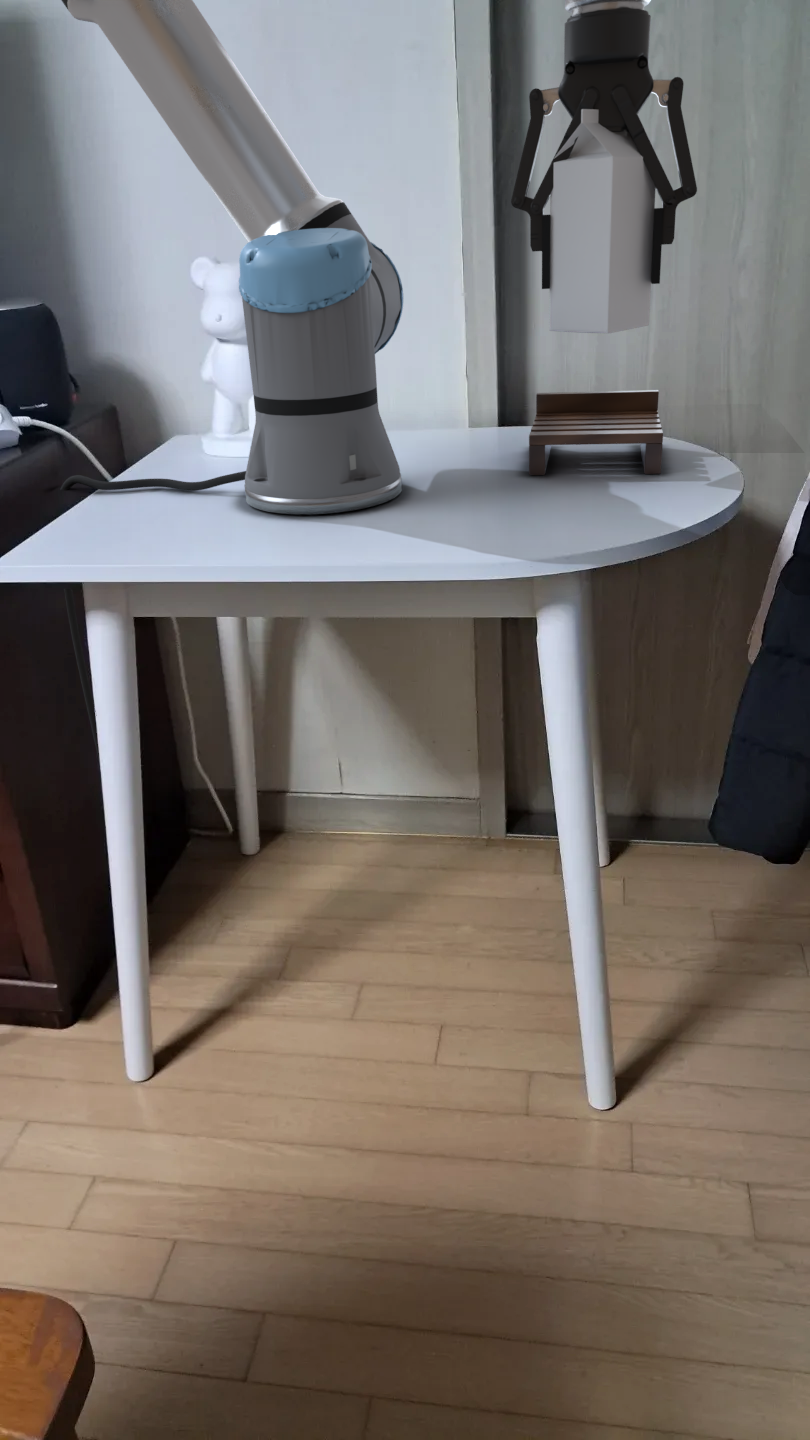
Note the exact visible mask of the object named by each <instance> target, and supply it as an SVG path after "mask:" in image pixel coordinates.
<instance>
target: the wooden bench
mask: <svg viewBox="0 0 810 1440" xmlns="http://www.w3.org/2000/svg"><path fill="white" fill-rule="evenodd" d="M659 394H660V390H659V389H644V390H643V389H641V390H639V389H637V390H604V391H601V390H600V391H565V392H564V391H563V392H536V395H535V397H536V399H535V400H536V401H535V417H534V419H533V422H532V426H531V429H530V432H529V435H528V476H545V475H546V472H547V467H548V463H549V458H550V453H551V449H552V446H571V445H573V446H574V445H575V446H576V445H581V446H582V445H634V444H635V445H637V444H639V445H640V452H641V460H642V467H643V474H644V475H661V473H662V463H663V461H662V459H663V442H664V432H663V428H662V424H661V419H660V415H659V411H658V410H659V397H660V396H659Z"/></svg>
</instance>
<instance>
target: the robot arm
mask: <svg viewBox="0 0 810 1440" xmlns="http://www.w3.org/2000/svg"><path fill="white" fill-rule="evenodd" d="M61 2H62V4H63V5H64V6H65V8H66V9H67V11H68V12H69V13H70V15H71V17H73V18H74V19H76V20H77V21H82V22H88V23H93V24H95V25H97V26H98V27H99V28H100V30H101V31H102V33H103V34H104V36H105V37H106V38H107V40H108V41H109V43H110V45H112V47H113V49H114V50H115V52H116V53H117V54H118V56H119V57H120V59H121V60H122V61H123V63H124V65H125V66H126V68H127V69H128V71H129V72H130V73H131V74H132V76H133V77H134V79H135V81H136V82H137V83H138V85H139V86H140V88H141V90H142V91H143V92H144V93H145V95H146V97H147V98H148V99H149V101H150V102H151V104H152V105H153V107H154V108H155V109H156V111H157V112H158V114H159V115H160V117H161V118H162V120H163V121H164V123H165V124H166V125H167V127H168V129H169V130H170V131H171V132H172V134H173V135H174V137H175V138H176V140H177V141H178V143H179V144H180V146H181V147H182V149H183V150H184V151H185V153H186V154H187V156H188V157H189V159H190V160H191V162H192V163H193V164H194V166H195V167H196V169H197V170H198V172H199V173H200V175H201V177H202V178H203V179H204V181H205V182H206V183H207V185H208V186H209V188H210V189H211V191H212V192H213V193H214V195H215V196H216V198H217V199H218V201H219V202H220V204H221V205H222V207H223V208H224V209H225V211H226V212H227V214H228V215H229V217H230V218H231V220H232V221H233V223H234V224H235V225H236V227H237V228H238V230H239V231H240V233H241V234H242V236H243V237H244V239H245V240H246V241H247V243H245V245H244V246H243V247H242V249H241V251H240V254H239V261H238V262H239V277H238V290H239V293H240V296H241V301H242V311H243V318H244V327H245V334H246V336H245V337H246V343H247V353H248V361H249V369H250V379H251V386H252V387H251V388H252V395H253V404H254V413H255V423H254V428H253V433H252V437H251V438H252V439H251V444H250V450H249V454H248V460H247V463H246V470H243V471H239V472H235V473H229V474H225V475H220V476H217V477H214V478H210V479H206V480H202V481H183V480H177V479H172V478H141V479H140V478H139V479H130V480H129V479H128V480H116V481H103V480H97V479H94V478H90V477H88V476H86V475H81V474H75V475H71V476H69V477H67V479H66V480H65V481H64V482H63V483H62V485H61V487H60V488H59V489H60V491H67V490H70V489H71V488H72V487H73V486H74V485H77V484H79V485H83V486H87V487H88V488H93V489H96V490H101V491H117V490H130V489H140V488H141V489H142V488H168V489H169V488H170V489H176V490H181V491H187V492H188V491H189V492H191V491H203V490H208V489H212V488H215V487H218V486H223V485H226V484H232V483H236V482H241V481H244V492H245V493H244V494H245V501H246V503H247V505H249V506H251V507H252V508H254V509H257V510H259V511H262V512H267V513H275V514H285V515H323V514H336V513H345V512H351V511H356V510H361V509H366V508H370V507H371V508H372V507H374V506H378V505H381V504H384V503H387V502H390V501H391V500H393V499H395V498H396V497H397V496H399V495H400V494H401V493H402V489H403V488H402V487H403V485H402V473H401V469H400V465H399V462H398V460H397V457H396V454H395V452H394V448H393V447H392V442H391V441H390V439H389V436H388V433H387V430H386V428H385V425H384V423H383V419H382V417H381V414H380V410H379V401H378V383H377V382H378V381H377V366H376V364H377V363H376V354H377V353H378V352H380V351H381V350H382V349H384V348H385V347H386V346H387V345H388V344H389V342H390V341H391V340H392V338H393V336H394V334H395V333H396V331H397V329H398V326H399V324H400V320H401V319H402V314H403V309H404V308H403V307H404V288H403V284H402V280H401V277H400V274H399V271H398V270H397V268H396V265H395V263H394V262H393V260H392V258H391V257H390V256H389V255H388V254H387V253H385V252H384V250H383V249H382V248H380V247H378V246H377V245H376V244H375V243H374V242H372V241H370V239H369V238H368V237H367V235H366V233H365V232H364V231H363V228H362V227H361V226H360V224H359V223H358V221H357V220H356V218H355V217H354V215H353V214H352V212H351V211H350V209H349V207H348V206H347V205H346V203H345V201H343V199H341V198H337V197H330V196H325V195H323V194H322V193H320V192H319V190H318V188H317V187H316V186H315V184H314V183H313V181H312V179H311V178H310V177H309V175H308V173H307V172H306V171H305V169H304V167H303V166H302V165H301V163H300V161H299V159H298V158H297V157H296V155H295V153H294V152H293V151H292V149H291V147H290V146H289V145H288V143H287V141H286V140H285V138H284V137H283V136H282V134H281V132H280V131H279V129H278V128H277V126H276V124H275V123H274V122H273V120H272V118H271V117H270V116H269V114H268V112H266V110H265V108H264V106H263V104H262V103H261V102H260V100H259V99H258V98H257V96H256V94H255V93H254V91H253V90H252V89H251V86H250V85H249V84H248V82H247V81H246V79H245V78H244V76H243V74H242V73H241V72H240V70H239V68H238V67H237V65H236V64H235V62H234V61H233V59H232V58H231V56H230V54H229V53H228V52H227V50H226V49H225V47H224V46H223V44H222V42H221V41H220V40H219V38H218V36H217V35H216V34H215V32H214V30H213V29H212V28H211V26H210V24H209V23H208V22H207V20H206V19H205V16H204V15H203V14H202V12H201V11H200V9H199V8H198V6H197V4H195V2H194V0H61ZM651 2H652V0H564V10H565V11H567V13H569V14H571V15H570V16H569V17H568V18H567V19H566V21H565V23H564V36H563V37H564V38H563V39H564V40H563V41H564V42H563V43H564V46H563V47H564V50H563V51H564V52H563V76H562V79H561V82H559V86H558V87H557V86H556V87H551V88H546V89H539V88H537V87H536V88H533V89H531V90H530V92H529V95H528V100H529V113H530V119H529V123H528V127H527V131H526V136H525V140H524V144H523V149H522V152H521V157H520V162H519V166H518V170H517V173H516V177H515V181H514V182H515V183H514V186H513V190H512V195H511V199H510V203H511V206H512V207H513V208H514V209H518V210H521V211H524V212H526V213H527V214H528V216H529V219H530V222H529V223H530V225H529V231H530V234H529V240H530V241H529V242H530V243H529V245H530V249H531V252H541V290H550V214H545V209H546V207H547V205H548V202H549V201H550V194H551V192H552V189H553V175H554V162H558V161H562V160H567V159H568V158H569V156H570V154H571V152H572V150H573V147H574V145H575V143H576V141H577V139H578V137H577V138H576V139H575V141H574V144H573V145H572V146H571V147H569V148H568V149H566V150H565V151H564V152H562V153H561V154H560V155H558V156H557V157H556V158H554V157H555V156H556V155H557V154H558V152H559V151H560V150H561V148H562V147H563V146H564V144H565V143H566V142H567V141H568V139H569V138H570V137H571V135H572V134H573V133H574V131H575V130H576V129H577V127H578V126H579V125H580V124H581V110H582V109H599V113H598V123H599V124H600V125H601V126H603V127H605V128H606V129H608V130H609V131H612V132H621V131H624V130H626V129H627V130H628V132H629V134H630V136H631V138H632V140H633V142H634V144H635V145H636V147H637V149H638V151H639V153H640V155H641V156H642V157H643V161H644V163H645V166H646V168H647V170H648V172H649V174H650V177H651V179H652V181H653V183H654V185H655V188H656V189H655V191H656V193H657V194H658V196H659V199H660V200H661V207H655V208H654V228H653V250H652V271H651V285H659V284H661V265H662V246H663V245H673V242H674V240H675V233H676V232H675V231H676V230H675V229H676V212H677V207H678V206H679V204H681V203H682V202H684V201H686V200H689V199H691V198H694V197H695V195H696V194H697V192H698V186H697V181H696V175H695V171H694V167H693V166H694V165H693V161H692V156H691V151H690V146H689V140H688V136H687V130H686V125H685V120H684V116H683V115H684V114H683V111H682V100H683V92H684V85H685V83H684V79H683V78H681V77H680V76H675V77H674V78H672V79H654V77H653V76H652V73H651V70H650V44H651V43H650V41H651V21H652V19H651V17H652V16H651V14H650V13H649V11H648V10H646V9H645V7H646V6H648V5H649V4H650V3H651ZM652 94H654V95H655V96H656V97H657V101H658V105H659V106H660V107H662V108H666V109H665V110H666V120H667V125H668V129H669V134H670V135H669V136H670V139H671V140H670V141H671V144H672V149H673V154H674V160H675V165H676V169H677V174H678V179H679V183H680V186H679V187H677V188H675V189H673V186H672V184H671V182H670V180H669V178H668V176H667V174H666V172H665V169H664V167H663V166H662V165H663V164H662V163H661V161H660V159H659V158H658V157H659V156H658V155H657V153H656V151H655V149H654V147H653V145H652V142H651V140H650V138H649V136H648V134H647V132H646V130H645V127H644V125H643V123H642V121H641V119H640V116H639V113H640V112H641V110H642V108H643V107H644V105H645V103H646V102H647V101H648V99H649V97H650V96H651V95H652ZM559 101H560V103H561V104H562V106H563V107H564V109H565V110H566V111H567V113H568V115H569V117H570V118H571V121H570V123H569V125H568V127H567V129H566V131H565V132H564V133H565V134H563V135H564V136H563V137H562V140H561V142H560V144H559V146H558V148H557V150H556V152H555V154H554V156H553V159H552V160H551V161H550V164H549V167H548V169H547V170H546V172H545V175H544V177H543V178H542V181H541V183H540V185H539V187H538V189H537V191H536V193H535V195H534V196H533V198H532V197H530V196H528V193H529V190H530V185H531V182H532V177H533V174H534V173H533V172H534V169H535V165H536V160H537V156H538V152H539V149H540V145H541V140H542V136H543V132H544V127H545V122H546V117H549V116H550V115H551V114H552V113H553V111H554V106H555V104H556V103H557V102H559ZM63 591H64V597H65V603H66V604H65V605H66V611H67V618H68V623H69V629H70V634H71V639H72V644H73V650H74V654H75V660H76V665H77V669H78V673H79V678H80V682H81V687H82V692H83V697H84V701H85V705H86V710H87V714H88V719H89V723H90V728H91V733H92V736H93V741H94V745H95V750H96V754H97V758H98V760H99V753H98V744H97V733H96V723H95V713H94V707H95V703H94V699H93V694H92V689H91V686H90V681H89V676H88V671H87V666H86V661H85V656H84V651H83V646H82V641H81V636H80V631H79V624H78V618H77V613H76V607H75V600H74V593H73V588H63ZM93 703H94V704H93Z"/></svg>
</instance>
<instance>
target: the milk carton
mask: <svg viewBox="0 0 810 1440" xmlns="http://www.w3.org/2000/svg"><path fill="white" fill-rule="evenodd" d="M598 113H599V109H582V110H581V124H580V125H579V126H578V127H577V129H576V130H575V131H574V133H573V134H572V135H571V137H570V138H569V139H568V141H567V142H566V143H565V144H564V146H563V147H562V148H561V150H560V151H559V152H558V154H557V155H556V156H555V155H554V156H555V157H554V156H553V158H556V157H557V156H558V155H560V154H561V153H562V152H564V151H565V150H566V149H568V148H569V147H571V146H572V145H573V144H574V141H575V139H576V138H577V137H578V139H577V141H576V143H575V145H574V147H573V150H572V152H571V154H570V156H569V158H568V159H567V160H562V161H558V162H554V175H553V189H552V192H551V194H550V198H549V201H550V202H549V206H550V207H549V208H550V209H549V215H550V289H549V322H548V323H549V324H548V325H549V327H548V328H549V331H550V332H560V333H561V332H562V333H578V334H579V333H581V334H614V333H619V332H624V331H628V330H629V331H630V330H634V329H639V328H644V327H648V326H649V325H650V312H651V309H650V308H651V292H652V291H651V290H652V284H651V271H652V250H653V228H654V208H656V206H655V205H656V203H655V202H656V188H655V185H654V183H653V181H652V179H651V177H650V174H649V172H648V170H647V168H646V166H645V163H644V161H643V157H642V156H641V155H640V153H639V151H638V149H637V147H636V145H635V144H634V142H633V140H632V138H631V136H630V134H629V132H628V130H627V129H626V130H624V131H621V132H612V131H609V130H608V129H606V128H605V127H603V126H601V125H600V124H599V123H598Z"/></svg>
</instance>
